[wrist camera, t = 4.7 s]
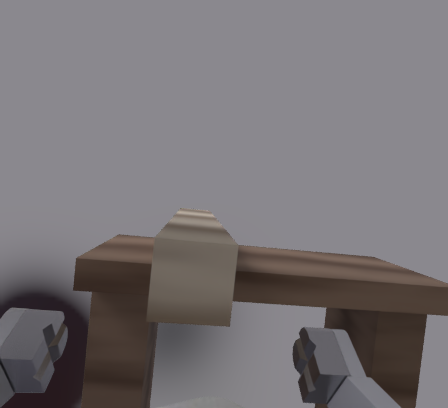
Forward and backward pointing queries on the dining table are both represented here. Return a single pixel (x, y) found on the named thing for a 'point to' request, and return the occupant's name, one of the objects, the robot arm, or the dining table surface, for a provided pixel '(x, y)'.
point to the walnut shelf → (257, 293)
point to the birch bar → (192, 271)
